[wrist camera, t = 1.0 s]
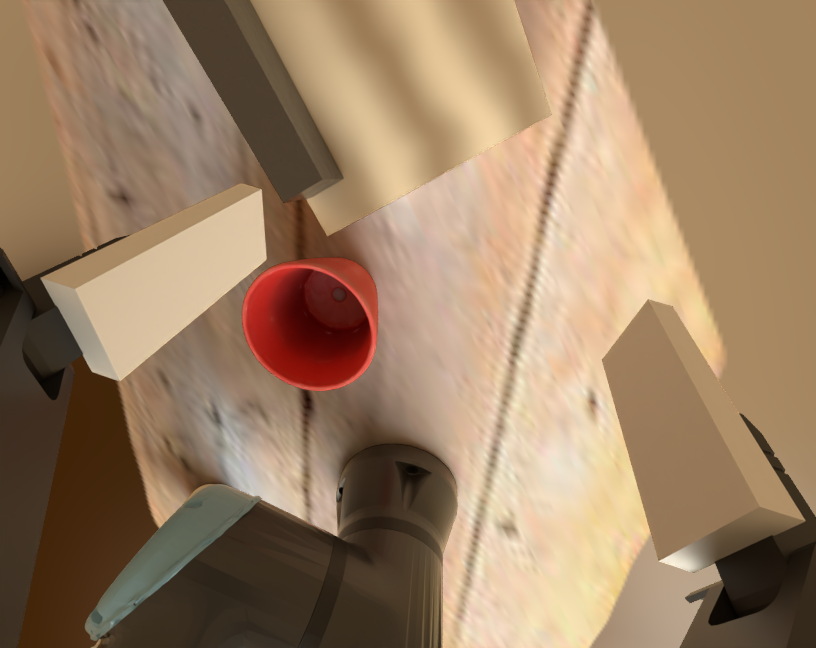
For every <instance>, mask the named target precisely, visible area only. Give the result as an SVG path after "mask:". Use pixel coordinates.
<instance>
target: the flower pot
mask: <svg viewBox="0 0 816 648" xmlns="http://www.w3.org/2000/svg"><path fill="white" fill-rule="evenodd" d="M242 325H243V331H244V334H245V338H246V341H247V343H248V345H249V347H250V349H251V351H252V353H253V354H254V356H255V357H256V358H257V360H258V361H259V362H260V363H261V364H262V365H263V366H264V367H265V368H266V369H267V370H268V371H269V372H271V373H272V374H273V375H275V376H276V377H277V378H279V379H281V380H282V381H284V382H286V383H288V384H290V385H293V386H296V387H299V388H302V389H307V390H314V391H325V390H333V389H337V388H340V387H343V386H346V385H348V384H350V383H351V382H353V381H355V380H356V379H357V378H358V377H360V376H361V375H362V374H363V373H364V372H365V370H366V369H367V368H368V366H369V365H370V363H371V361H372V359H373V357H374V354H375V350H376V345H377V336H378V300H377V290H376V286H375V284H374V281H373V279H372V278H371V276H370V275H369V273H368V272H367V271H366V270H365V269H364V268H363V267H362V266H360V265H359V264H357V263H355V262H354V261H351V260H349V259H345V258H339V257H330V258H311V259H303V260H295V261H289V262H284V263H281V264H277V265H275V266H273V267H270V268H269V269H267V270H265V271H264V272H263V273H261V274H260V275H259V276H258V277H257V278H256V279H255V280H254V282H253V283H252V284H251V286H250V287H249V289H248V291H247V293H246V296H245V298H244V302H243V307H242Z"/></svg>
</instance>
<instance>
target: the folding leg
mask: <svg viewBox="0 0 816 648" xmlns="http://www.w3.org/2000/svg"><path fill="white" fill-rule="evenodd" d="M163 1H164V3H165V5H166V6H167V8H168V10H169V12H170V13H171V15H172V17H173V18H174V20H175V22H176V23H177V25H178V27H179V28H180V30H181V32H182V33H183V35H184V37H185V38H186V40H187V42H188V43H189V45H190V47H191V48H192V50H193V52H194V54H195V55H196V57H197V59H198V60H199V62H200V64H201V65H202V67H203V69H204V70H205V72H206V74H207V75H208V77H209V79H210V80H211V82H212V84H213V85H214V87H215V89H216V91H217V92H218V94H219V96H220V97H221V99H222V101H223V102H224V104H225V106H226V107H227V109H228V111H229V112H230V114H231V116H232V117H233V119H234V121H235V122H236V124H237V126H238V128H239V129H240V131H241V133H242V134H243V136H244V138H245V139H246V141H247V143H248V144H249V146H250V148H251V149H252V151H253V153H254V154H255V156H256V158H257V159H258V161H259V163H260V164H261V166H262V168H263V170H264V171H265V173H266V175H267V176H268V178H269V180H270V181H271V183H272V185H273V186H274V188H275V190H276V191H277V193H278V195H279V196H280V198H281V200H282V201H283V203H286V202H291V201H297V200H303V199H308V198H312V197H314V196H315V195H317V194H319V193H320V192H322V191H324V190H326V189H327V188H329V187H331V186H332V185H334V184H336V183H338V182H339V181H341V180H343V179H344V177H343V175H342V173H341V172H340V170H339V168H338V166H337V164H336V162H335V160H334V158H333V156H332V154H331V153H330V151H329V149H328V147H327V145H326V143H325V141H324V139H323V137H322V136H321V134H320V132H319V130H318V128H317V126H316V124H315V122H314V120H313V119H312V117H311V115H310V113H309V111H308V109H307V107H306V105H305V103H304V101H303V100H302V98H301V96H300V94H299V92H298V90H297V88H296V86H295V84H294V83H293V81H292V79H291V77H290V75H289V73H288V71H287V69H286V67H285V66H284V64H283V62H282V60H281V58H280V56H279V54H278V52H277V50H276V49H275V47H274V45H273V43H272V41H271V39H270V37H269V35H268V33H267V31H266V30H265V28H264V26H263V24H262V22H261V20H260V18H259V16H258V14H257V13H256V11H255V9H254V7H253V5H252V3H251V1H250V0H163Z"/></svg>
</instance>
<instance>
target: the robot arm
mask: <svg viewBox="0 0 816 648" xmlns="http://www.w3.org/2000/svg"><path fill="white" fill-rule="evenodd" d="M266 260H267V257H266V243H265V229H264V215H263V201H262V189H260V188H256V187H253V186H249V185H246V184H242V183H240V184H238V185H236V186H234V187H231V188H229V189H227V190H225V191H223V192H221V193H219V194H217V195H215V196H212V197H210V198H208V199H206V200H204V201H202V202H200V203H198V204H196V205H193V206H191V207H189V208H187V209H185V210H183V211H181V212H179V213H177V214H174V215H172V216H170V217H168V218H166V219H164V220H162V221H160V222H158V223H155V224H153V225H151V226H149V227H147V228H145V229H143V230H141V231H139V232H136V233H134V234H132V235H128V236H123V237H119V238H115V239H113V240H111V241H109V242H107V243H105V244H102V245H100V246H98V247H97V249H92V250H89V251H87V252H85V253H83V254H82V256H76V257H74V258H72V259H70V260H68V261H66V262H64V263H62V264H59V265H57V266H55V267H53V268H51V269H49V270H46V271H44V272H42V273H40V274H38V275H36V276H33V277H31V278H30V279H27V280H25V281H23V282H22V281H21V279H20V277H19V276H18V274H17V272H16V271H15V269H14V267H13V266H12V264H11V262H10V261H9V259H8V257H7V256H6V254H5V252H4V251H3V250H2V249H1V248H0V648H17V647H18V642H19V638H20V633H21V628H22V623H23V618H24V614H25V608H26V604H27V599H28V594H29V590H30V585H31V580H32V575H33V570H34V566H35V561H36V556H37V551H38V547H39V542H40V537H41V533H42V528H43V523H44V518H45V513H46V509H47V504H48V499H49V494H50V490H51V484H52V480H53V475H54V470H55V465H56V461H57V456H58V451H59V447H60V441H61V437H62V432H63V427H64V423H65V418H66V413H67V409H68V404H69V399H70V394H71V389H72V385H73V380H74V369H73V367H72V365H71V364H70V363H71V362H73V361H74V360H76V359H77V358H79V357H80V356H81V355H83V356H84V358H85V360H86V362H87V364H88V366H89V367H90V369H91V371H92V372H94V373H97V374H100V375H103V376H106V377H109V378H112V379H115V380H118V381H121V380H122V379H124V378H125V377H126V376H127V375H128V374H130V373H131V372H132V371H133V370H134V369H136V368H137V367H138V366H139V365H140V364H142V363H143V362H144V361H145V360H146V359H148V358H149V357H150V356H151V355H152V354H154V353H155V352H156V351H157V350H158V349H160V348H161V347H162V346H163V345H164V344H166V343H167V342H168V341H169V340H171V339H172V338H173V337H174V336H175V335H177V334H178V333H179V332H180V331H181V330H183V329H184V328H185V327H186V326H187V325H189V324H190V323H191V322H192V321H193V320H195V319H196V318H197V317H198V316H199V315H201V314H202V313H203V312H204V311H205V310H207V309H208V308H209V307H210V306H211V305H213V304H214V303H215V302H216V301H217V300H219V299H220V298H221V297H222V296H223V295H225V294H226V293H227V292H228V291H229V290H231V289H232V288H233V287H234V286H236V285H237V284H238V283H239V282H240V281H242V280H243V279H244V278H245V277H246V276H248V275H249V274H250V273H251V272H252V271H254V270H255V269H256V268H257V267H258V266H260V265H261V264H262V263H263V262H264V261H266ZM602 362H603V365H604V369H605V373H606V376H607V380H608V383H609V387H610V390H611V394H612V397H613V401H614V404H615V408H616V411H617V415H618V419H619V422H620V426H621V429H622V433H623V436H624V440H625V443H626V447H627V450H628V454H629V457H630V461H631V465H632V468H633V472H634V475H635V479H636V482H637V486H638V489H639V493H640V496H641V500H642V504H643V507H644V511H645V514H646V518H647V521H648V525H649V528H650V532H651V535H652V539H653V542H654V546H655V550H656V553H657V557H658V560H659V561H660V562H663V563H666V564H669V565H672V566H675V567H678V568H681V569H684V570H687V571H690V572H693V573H695V572H697V571H699V570H701V569H703V568H706V567H708V566H710V565H712V564H714V563H715V564H716V566H717V569H718V571H719V574H720V577H721V579H722V580H721V581H719V582H716V583H714V584H711V585H709V586H706V587H704V588H702V589H699V590H697V591H695V592H692V593H690V594H689V595H688V596H687V597H685V599H686V600H687V601H688V602H689V603H692V602H694V601H697V600H699V599H702V600H703V602H702V604H701V606H700V608H699V610H698V612H697V614H696V616H695V618H694V620H693V622H692V624H691V626H690V628H689V630H688V632H687V634H686V636H685V638H684V640H683V642H682V644H681V646H680V648H816V517H815V515H814V514H813V512H812V511H811V509H810V507H809V506H808V504H807V503H806V501H805V500H804V498H803V497H802V495H801V494H800V492H799V490H798V489H797V488H796V486H795V484H794V483H793V481H792V480H791V478H790V477H789V475H788V474H785V473H784V472H785V469H784V468H783V466H782V464H781V463H780V461H779V460H778V458H776V457H774V452H773V450H772V449H771V447H770V446H769V444H768V443H767V441H766V440H765V438H764V436H763V435H762V434H761V433H760V431H758V429H757V428H755V426H753V424H752V423H751V422H750V421H749V420H748V419H747V418H746V417H744V415H742V414H740V413H738V411H737V410H736V408H735V406H734V405H733V403H732V402H731V400H730V398H729V397H728V395H727V393H726V392H725V390H724V389H723V387H722V385H721V384H720V382H719V381H718V379H717V377H716V376H715V374H714V373H713V371H712V369H711V368H710V366H709V364H708V363H707V361H706V360H705V358H704V356H703V355H702V353H701V352H700V350H699V348H698V347H697V345H696V344H695V342H694V340H693V339H692V337H691V335H690V334H689V332H688V331H687V329H686V327H685V326H684V324H683V323H682V321H681V319H680V318H679V316H678V315H677V313H676V311H675V310H674V308H673V306H669V305H666V304H662V303H659V302H655V301H652V300H647V301H646V303H645V304H644V305H643V307H642V308H641V309H640V311H639V312H638V313H637V315H636V316H635V317H634V319H633V320H632V321H631V322H630V324H629V325H628V326H627V328H626V329H625V330H624V332H623V333H622V334H621V336H620V337H619V338H618V340H617V341H616V342H615V344H614V345H613V346H612V347H611V349H610V350H609V351H608V353H607V354H606V355H605V357H604V358H603V359H602ZM261 499H262V498H261V497H259V496H255V497H254V496H251V495H249V494H246V493H244V492H242V491H239V490H237V489H235V488H232V487H230V486H227V485H224V484H214V485H210V486H208V487H205V488H203V489H202V490H200V491H199V492H197V493H196V494H195V495H193V496H192V497H191V498H190V499H188V500H187V501H186V502H185V503H184V504H183V505H182V506H181V507H180V508H179V509H178V510H177V511H176V512H175V513H174V514H173V515H172V516H171V517H170V518H169V519H168V520H167V521H166V522H165V523H164V524H163V525H162V526H161V527H160V529H159V530H158V531H157V532H156V533H155V534H154V535H153V536H152V537H151V538H150V540H149V541H148V542H147V543H146V544H145V545H144V546H143V547H142V549H141V550H140V551H139V552H138V553H137V554H136V555H135V557H134V558H133V559H132V560H131V561H130V563H129V564H128V565H127V566H126V567H125V569H124V570H123V571H122V572H121V573H120V575H119V576H118V577H117V578H116V579H115V581H114V582H113V583H112V585H111V586H110V587H109V588H108V590H107V591H106V592H105V594H104V595H103V596H102V598H101V599H100V601H99V603H98V605H97V607H96V608H95V609H94V611H93V612H92V613H91V614H90V616H89V618H88V619H87V621H86V625H85V630H86V631H87V632H88V633H89V634H90V636H91V637H90V638H91V639H92V640H94V641H97V640H98V639H101V641H100V644H99V645H98V647H97V648H443V552H444V549H445V547H446V544H447V541H448V538H449V535H450V532H451V529H452V526H453V523H454V521H455V518H456V514H457V507H458V502H457V487H456V483H455V480H454V478H453V476H452V474H451V472H450V471H449V470H448V468H447V467H446V466H445V465H444V464H443V463H442V462H441V461H440V460H438V459H437V458H436V457H434V456H433V455H431V454H429V453H427V452H425V451H423V450H420V449H418V448H415V447H411V446H406V445H399V444H386V445H378V446H374V447H371V448H368V449H365V450H363V451H361V452H360V453H358V454H356V455H355V456H354V457H353V458H352V459H351V460H350V461H349V462H348V463H347V464H346V466H345V468H344V470H343V472H342V475H341V478H340V481H339V484H338V487H337V494H336V501H337V531H338V536H337V537H336V536H334V535H333V534H331V533H329V532H327V531H325V530H323V529H321V528H319V527H317V526H314V525H312V524H310V523H308V522H306V521H304V520H302V519H300V518H298V517H296V516H294V515H292V514H290V513H288V512H286V511H284V510H282V509H279V508H277V507H275V506H273V505H271V504H269V503H267V502H265V501H263V500H261Z"/></svg>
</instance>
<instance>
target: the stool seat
mask: <svg viewBox="0 0 816 648" xmlns="http://www.w3.org/2000/svg"><path fill="white" fill-rule="evenodd" d="M250 1H251V3H252V5H253V7H254V9H255V11H256V13H257V14H258V16H259V18H260V20H261V22H262V24H263V26H264V28H265V30H266V31H267V33H268V35H269V37H270V39H271V41H272V43H273V45H274V47H275V49H276V50H277V52H278V54H279V56H280V58H281V60H282V62H283V64H284V66H285V67H286V69H287V71H288V73H289V75H290V77H291V79H292V81H293V83H294V84H295V86H296V88H297V90H298V92H299V94H300V96H301V98H302V100H303V101H304V103H305V105H306V107H307V109H308V111H309V113H310V115H311V117H312V119H313V120H314V122H315V124H316V126H317V128H318V130H319V132H320V134H321V136H322V137H323V139H324V141H325V143H326V145H327V147H328V149H329V151H330V153H331V154H332V156H333V158H334V160H335V162H336V164H337V166H338V168H339V170H340V172H341V173H342V175H343V177H344V179H343V180H341V181H339V182H338V183H336V184H334V185H332V186H331V187H329V188H327V189H326V190H324V191H322V192H320V193H319V194H317V195H315V196H314V197H312V198H308V199H306V200H307V202H308V204H309V205H310V207H311V209H312V211H313V212H314V214H315V216H316V218H317V219H318V221H319V223H320V225H321V226H322V228H323V230H324V232H325V233H326V235H327V236H329V235H331V234H333V233H335V232H337V231H339V230H341V229H343V228H345V227H346V226H348V225H350V224H352V223H354V222H356V221H358V220H359V219H361V218H363V217H365V216H367V215H369V214H370V213H372V212H374V211H376V210H378V209H380V208H381V207H383V206H385V205H387V204H389V203H391V202H393V201H394V200H396V199H398V198H400V197H402V196H404V195H405V194H407V193H409V192H411V191H413V190H415V189H416V188H418V187H420V186H422V185H424V184H426V183H428V182H429V181H431V180H433V179H435V178H437V177H439V176H440V175H442V174H444V173H446V172H448V171H450V170H451V169H453V168H455V167H457V166H459V165H461V164H463V163H464V162H466V161H468V160H470V159H472V158H474V157H475V156H477V155H479V154H481V153H483V152H485V151H486V150H488V149H490V148H492V147H494V146H496V145H498V144H499V143H501V142H503V141H505V140H507V139H509V138H510V137H512V136H514V135H516V134H518V133H520V132H521V131H523V130H525V129H527V128H529V127H531V126H532V125H534V124H536V123H538V122H540V121H541V120H543V119H545V118H547V117H548V116H550V115H552V114H551V111H550V108H549V105H548V102H547V99H546V96H545V93H544V90H543V87H542V84H541V81H540V78H539V75H538V71H537V68H536V65H535V62H534V59H533V56H532V53H531V50H530V47H529V44H528V41H527V38H526V35H525V32H524V29H523V26H522V23H521V20H520V16H519V13H518V10H517V7H516V4H515V1H514V0H250Z"/></svg>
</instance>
